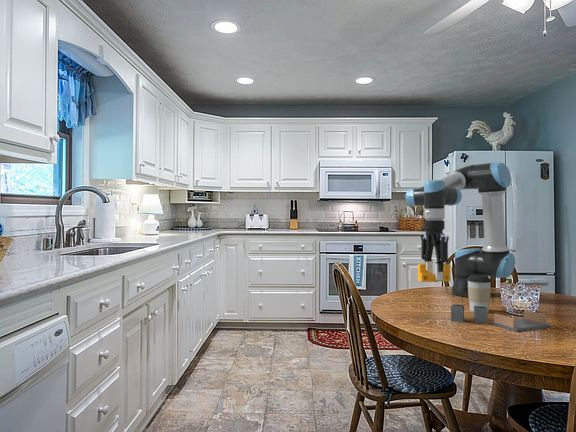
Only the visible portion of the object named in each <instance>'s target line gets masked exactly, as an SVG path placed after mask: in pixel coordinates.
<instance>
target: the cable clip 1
mask: <svg viewBox="0 0 576 432" xmlns="http://www.w3.org/2000/svg"><path fill="white" fill-rule="evenodd" d="M450 309H451V310H450V321H451V322H458V323H463V322H464V321H465V305H463V304H455V303H453V304H451V305H450Z"/></svg>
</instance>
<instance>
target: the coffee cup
mask: <svg viewBox="0 0 576 432" xmlns="http://www.w3.org/2000/svg"><path fill="white" fill-rule="evenodd" d="M467 280H468V296H469V297H468V303H469V311H471V312H473V313H474V306H482V307H486V308H487V313H489V308H490V300H491V289H492V288H491V284H492V283H491V282H492V279H491V278H490V276H485V275H483V274H475V275H470V277H468V278H467Z"/></svg>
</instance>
